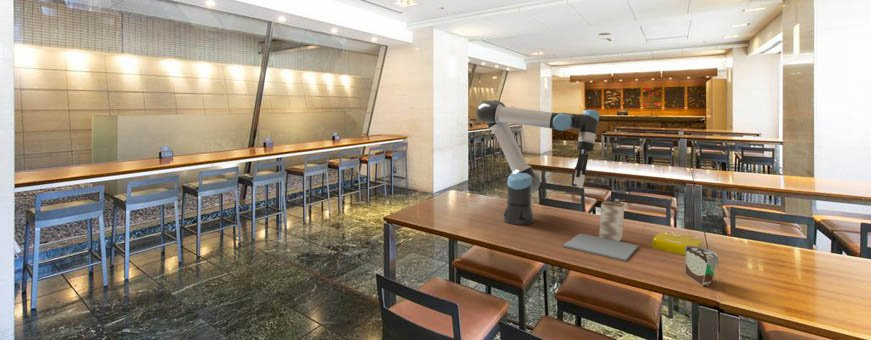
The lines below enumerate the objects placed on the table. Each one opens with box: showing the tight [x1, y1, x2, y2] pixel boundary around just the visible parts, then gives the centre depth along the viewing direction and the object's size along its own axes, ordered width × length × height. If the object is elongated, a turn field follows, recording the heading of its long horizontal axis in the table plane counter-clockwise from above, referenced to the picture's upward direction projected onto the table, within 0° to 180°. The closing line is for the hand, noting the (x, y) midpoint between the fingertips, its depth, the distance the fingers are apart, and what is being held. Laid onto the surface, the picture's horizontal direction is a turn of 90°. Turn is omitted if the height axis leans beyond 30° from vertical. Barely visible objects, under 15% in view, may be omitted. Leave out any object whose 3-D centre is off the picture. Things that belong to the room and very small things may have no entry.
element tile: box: [651, 230, 704, 256], centre depth 159 cm, size 15×15×5 cm
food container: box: [684, 246, 720, 287], centre depth 129 cm, size 12×6×10 cm, turn 179°
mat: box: [562, 232, 639, 263], centre depth 160 cm, size 24×19×1 cm
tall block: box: [598, 200, 626, 242], centre depth 169 cm, size 8×5×16 cm, turn 50°
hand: (578, 186), depth 185 cm, fingers open, 13 cm apart
